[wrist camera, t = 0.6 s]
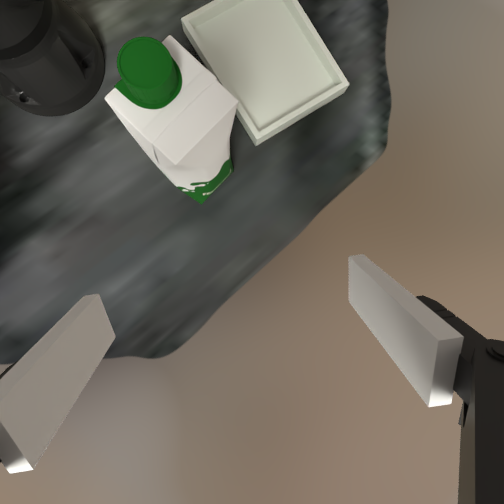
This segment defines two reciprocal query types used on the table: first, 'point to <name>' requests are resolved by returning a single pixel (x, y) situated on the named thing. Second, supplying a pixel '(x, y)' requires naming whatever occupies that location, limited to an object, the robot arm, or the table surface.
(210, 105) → the soya milk
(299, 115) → the tray
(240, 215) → the table surface
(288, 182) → the table surface
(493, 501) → the robot arm
